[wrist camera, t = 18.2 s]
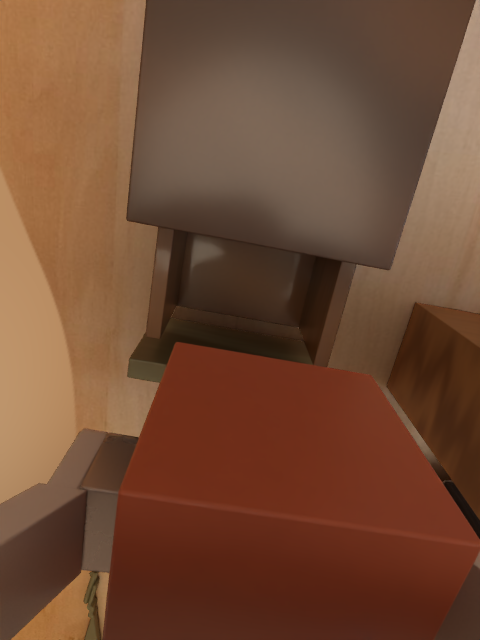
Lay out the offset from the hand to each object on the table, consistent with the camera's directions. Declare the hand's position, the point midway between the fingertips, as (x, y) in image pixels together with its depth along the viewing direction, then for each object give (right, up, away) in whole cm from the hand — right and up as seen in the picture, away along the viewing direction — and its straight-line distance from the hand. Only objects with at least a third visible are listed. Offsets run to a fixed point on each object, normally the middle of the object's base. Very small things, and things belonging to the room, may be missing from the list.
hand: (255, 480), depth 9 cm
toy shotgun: (-15, -25, +31) cm, 43 cm away
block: (0, 0, +1) cm, 1 cm away
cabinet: (+2, +17, +16) cm, 23 cm away
